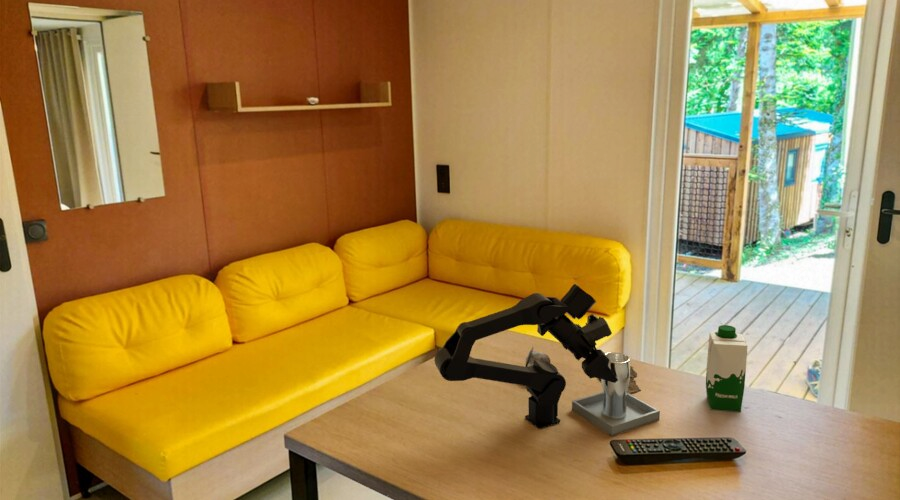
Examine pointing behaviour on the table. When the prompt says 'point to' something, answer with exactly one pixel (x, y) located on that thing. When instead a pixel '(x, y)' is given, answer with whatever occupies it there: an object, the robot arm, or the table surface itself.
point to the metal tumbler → (616, 386)
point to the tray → (635, 418)
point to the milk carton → (726, 369)
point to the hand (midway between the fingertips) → (611, 373)
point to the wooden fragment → (632, 382)
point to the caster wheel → (537, 358)
